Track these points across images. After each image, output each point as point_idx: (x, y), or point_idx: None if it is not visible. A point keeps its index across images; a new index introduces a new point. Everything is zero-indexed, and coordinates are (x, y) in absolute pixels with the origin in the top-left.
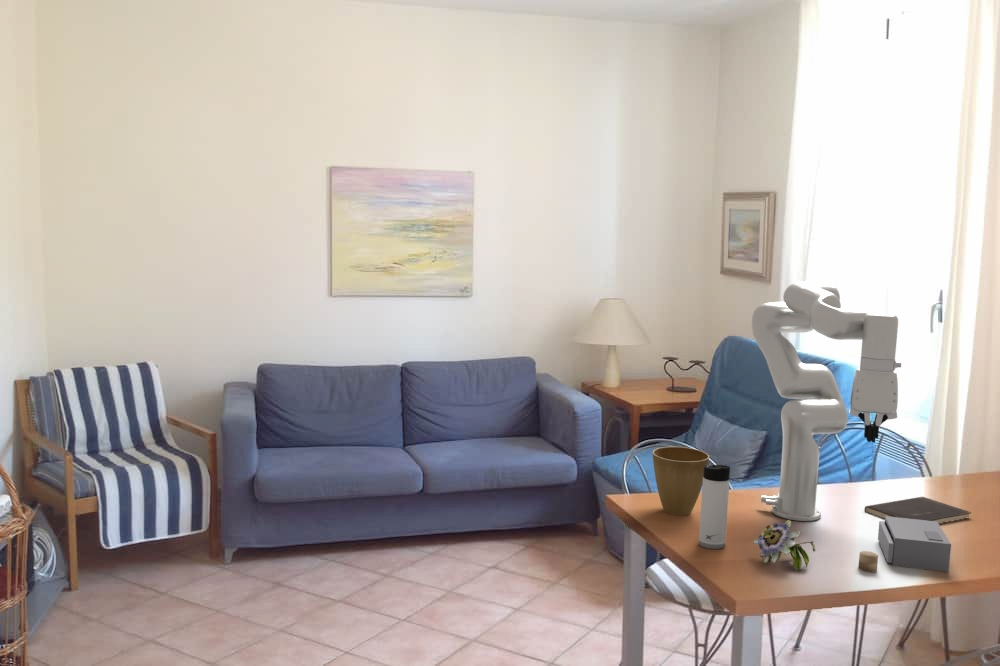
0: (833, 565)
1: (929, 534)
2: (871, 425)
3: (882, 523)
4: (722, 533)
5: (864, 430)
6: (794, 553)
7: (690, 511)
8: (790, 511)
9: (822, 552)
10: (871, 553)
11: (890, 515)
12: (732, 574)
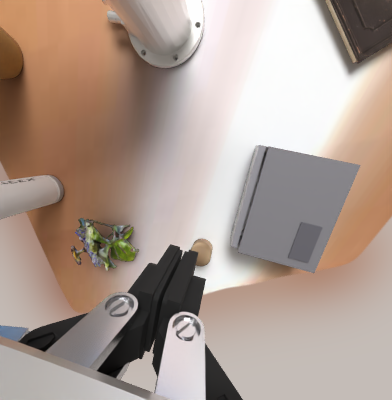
0: (168, 239)
1: (300, 238)
2: (149, 335)
3: (259, 158)
4: (45, 204)
5: (139, 277)
6: (113, 266)
7: (18, 68)
8: (147, 48)
9: (166, 199)
10: (204, 253)
11: (335, 12)
12: (70, 265)
